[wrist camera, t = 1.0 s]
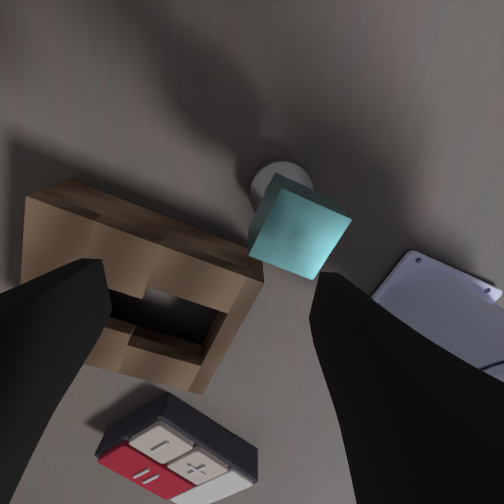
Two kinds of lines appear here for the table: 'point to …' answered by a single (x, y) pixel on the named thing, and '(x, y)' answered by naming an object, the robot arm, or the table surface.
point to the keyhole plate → (143, 277)
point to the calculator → (178, 453)
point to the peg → (292, 219)
